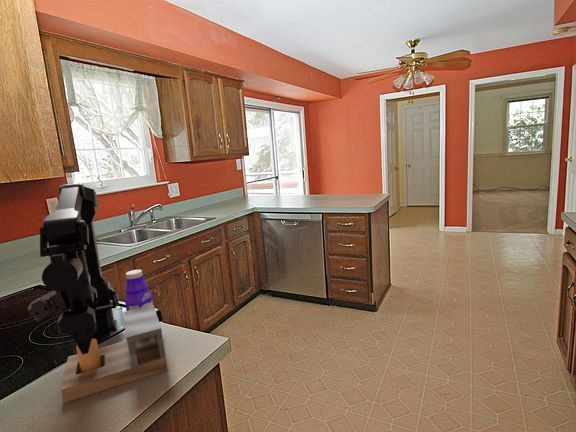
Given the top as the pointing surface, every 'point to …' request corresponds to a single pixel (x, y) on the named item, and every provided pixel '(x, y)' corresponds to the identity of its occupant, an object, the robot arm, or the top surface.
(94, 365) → the peg
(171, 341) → the top surface
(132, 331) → the socket block
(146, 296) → the bottle
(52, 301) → the robot arm
